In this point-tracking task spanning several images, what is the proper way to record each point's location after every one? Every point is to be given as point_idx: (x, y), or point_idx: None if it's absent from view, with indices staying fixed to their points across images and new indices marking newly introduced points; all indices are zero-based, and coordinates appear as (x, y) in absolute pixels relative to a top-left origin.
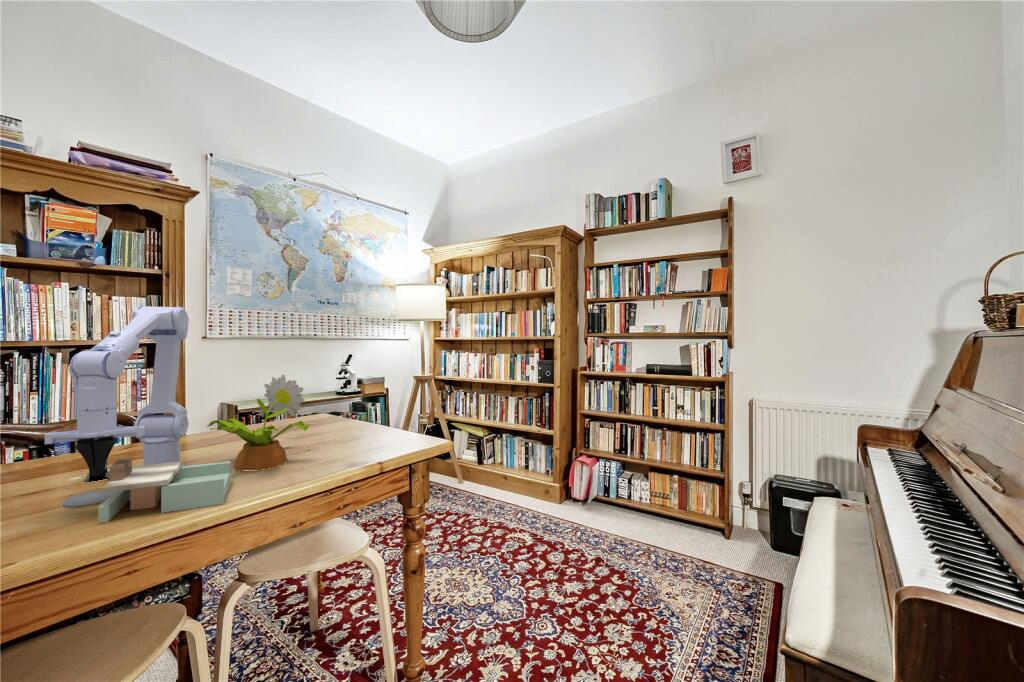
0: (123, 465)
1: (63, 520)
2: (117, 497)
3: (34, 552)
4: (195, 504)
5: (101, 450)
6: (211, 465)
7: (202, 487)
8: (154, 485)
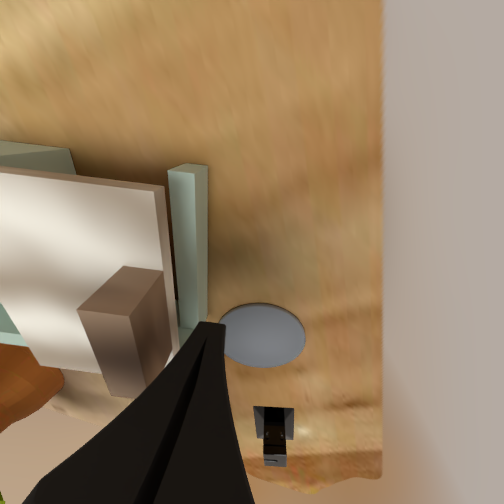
0: (81, 315)
1: (288, 239)
2: (174, 248)
3: None
4: None
5: (117, 443)
6: None
7: None
8: None
